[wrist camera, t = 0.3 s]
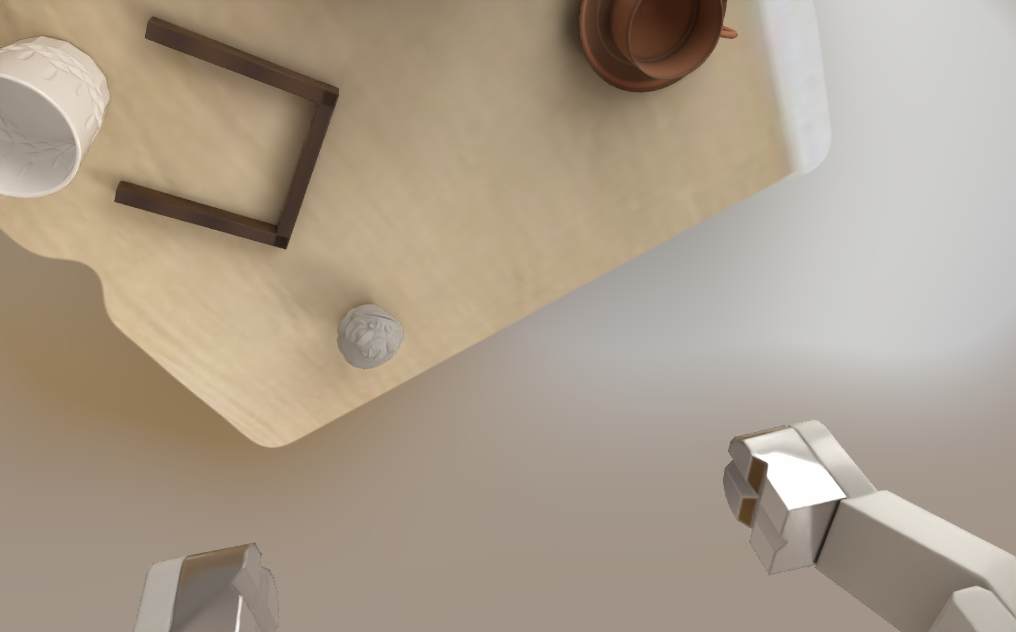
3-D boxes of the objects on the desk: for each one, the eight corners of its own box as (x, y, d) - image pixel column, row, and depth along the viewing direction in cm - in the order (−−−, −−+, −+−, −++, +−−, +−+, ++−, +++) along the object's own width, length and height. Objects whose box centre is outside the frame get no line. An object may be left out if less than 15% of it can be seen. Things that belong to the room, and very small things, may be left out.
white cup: (69, 157, 51) (22, 221, 43) (-36, 73, 46) (-110, 126, 39) (144, 95, 50) (109, 149, 42) (43, 1, 45) (-17, 42, 37)
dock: (118, 193, 53) (114, 201, 52) (152, 15, 47) (147, 21, 46) (287, 240, 59) (286, 249, 58) (338, 88, 52) (339, 94, 51)
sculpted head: (410, 291, 65) (418, 336, 59) (386, 346, 68) (391, 393, 63) (348, 276, 62) (350, 320, 57) (326, 333, 66) (326, 380, 60)
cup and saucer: (720, -93, 50) (761, -82, 45) (712, 68, 58) (747, 92, 53) (565, -61, 49) (591, -46, 44) (578, 98, 57) (601, 125, 52)
